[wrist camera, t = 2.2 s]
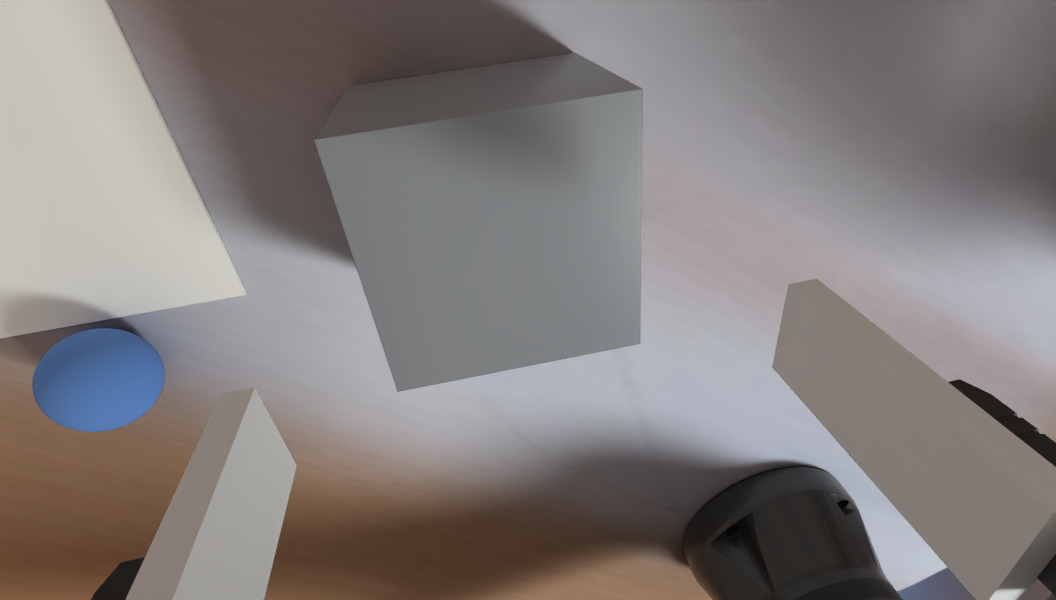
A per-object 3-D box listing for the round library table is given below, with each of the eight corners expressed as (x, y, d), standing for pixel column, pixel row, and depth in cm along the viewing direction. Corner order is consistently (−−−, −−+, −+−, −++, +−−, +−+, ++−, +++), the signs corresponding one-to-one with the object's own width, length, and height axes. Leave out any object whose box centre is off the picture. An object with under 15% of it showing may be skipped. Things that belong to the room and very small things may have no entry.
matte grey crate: (585, 250, 29) (639, 343, 22) (403, 283, 29) (397, 391, 21) (574, 52, 24) (642, 89, 16) (348, 85, 23) (314, 140, 16)
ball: (196, 375, 29) (159, 442, 25) (102, 392, 29) (49, 464, 25) (152, 300, 27) (101, 362, 22) (48, 319, 26) (-23, 385, 22)
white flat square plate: (246, 292, 27) (245, 294, 27) (-42, 344, 26) (-45, 346, 26) (96, -21, 20) (94, -21, 19) (-321, 31, 18) (-328, 32, 18)
